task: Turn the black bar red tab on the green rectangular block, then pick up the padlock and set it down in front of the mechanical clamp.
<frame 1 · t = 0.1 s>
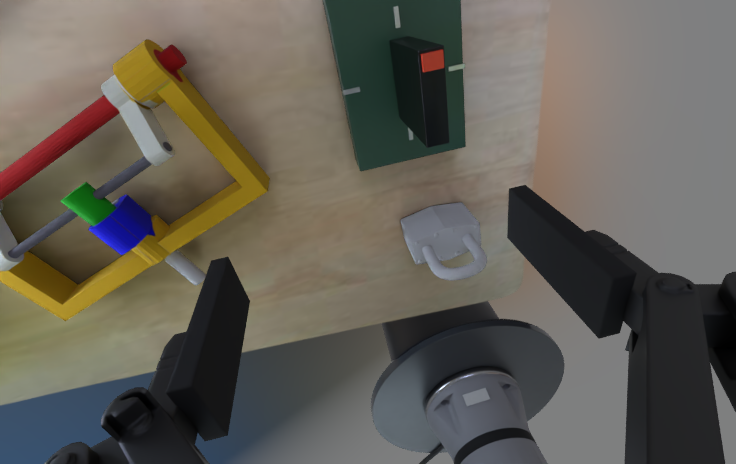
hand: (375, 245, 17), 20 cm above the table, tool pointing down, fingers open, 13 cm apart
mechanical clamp: (122, 213, 35), on the table
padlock: (431, 219, 41), on the table
green rectangular block: (395, 73, 32), on the table
black bar red tab: (418, 88, 26), point 7 cm above the table, hinge at 0.0°
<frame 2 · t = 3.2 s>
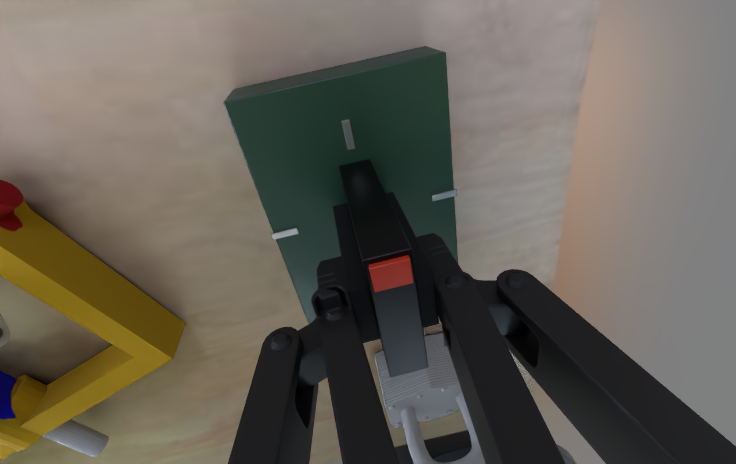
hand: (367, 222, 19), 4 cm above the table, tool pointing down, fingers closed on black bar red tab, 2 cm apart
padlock: (416, 349, 31), on the table
green rectangular block: (357, 189, 22), on the table
black bar red tab: (379, 257, 16), point 7 cm above the table, hinge at 0.0°, touching gripper
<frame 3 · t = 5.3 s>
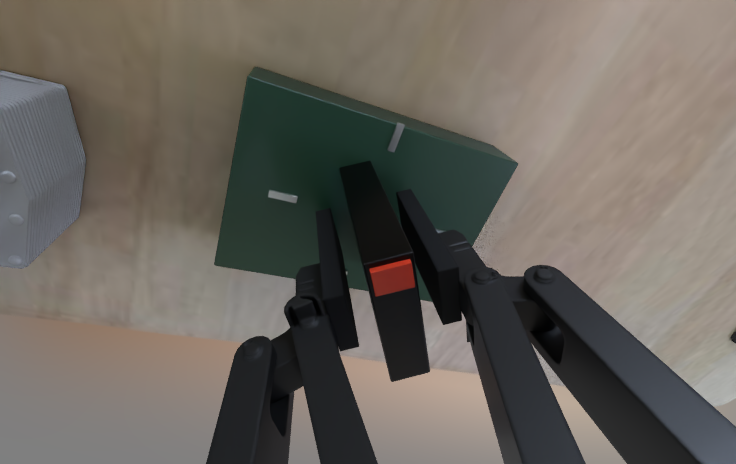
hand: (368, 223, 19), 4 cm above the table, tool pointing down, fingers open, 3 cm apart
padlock: (43, 148, 18), on the table
green rectangular block: (357, 191, 22), on the table
black bar red tab: (380, 260, 16), point 7 cm above the table, hinge at 119.8°
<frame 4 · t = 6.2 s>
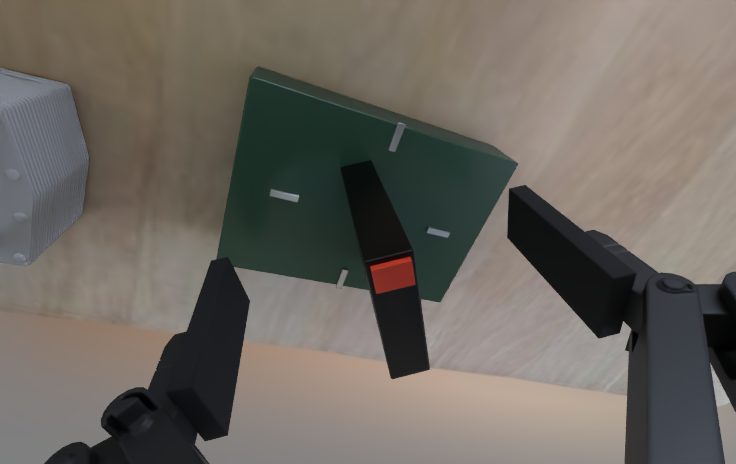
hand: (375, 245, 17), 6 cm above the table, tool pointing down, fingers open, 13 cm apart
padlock: (47, 147, 18), on the table
green rectangular block: (358, 190, 22), on the table
black bar red tab: (380, 259, 16), point 7 cm above the table, hinge at 119.8°
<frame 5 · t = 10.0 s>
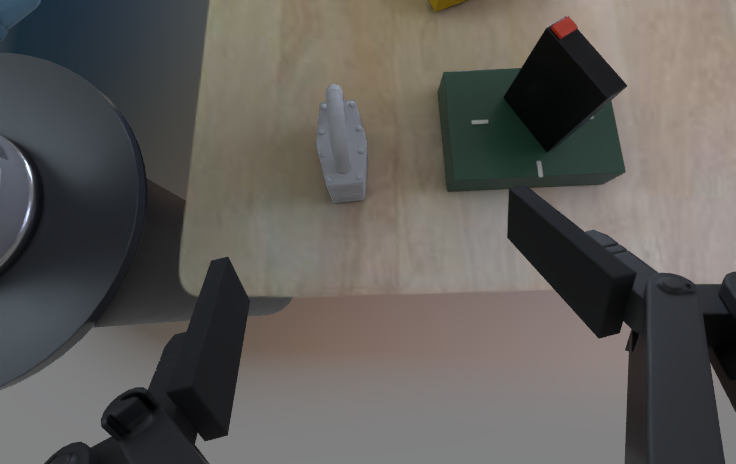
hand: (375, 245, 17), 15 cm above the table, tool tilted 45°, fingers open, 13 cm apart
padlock: (345, 166, 34), on the table
green rectangular block: (517, 136, 34), on the table
black bar red tab: (556, 91, 27), point 7 cm above the table, hinge at 119.8°
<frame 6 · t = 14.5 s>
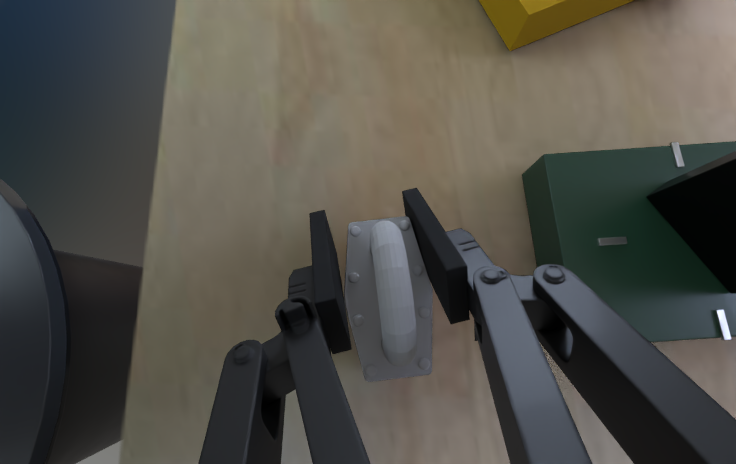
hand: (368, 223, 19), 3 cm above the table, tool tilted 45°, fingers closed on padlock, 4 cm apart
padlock: (384, 299, 21), on the table, touching gripper
green rectangular block: (653, 246, 22), on the table
when the fingers open (3 cm above the table, at t = 21.6 s): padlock stays where it is, on the table.
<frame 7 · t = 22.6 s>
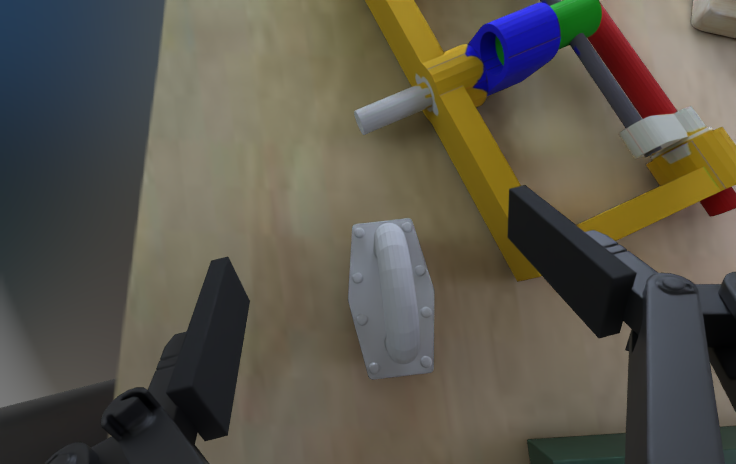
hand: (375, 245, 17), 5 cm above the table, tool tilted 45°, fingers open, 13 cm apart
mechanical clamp: (473, 68, 25), on the table
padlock: (387, 299, 22), on the table
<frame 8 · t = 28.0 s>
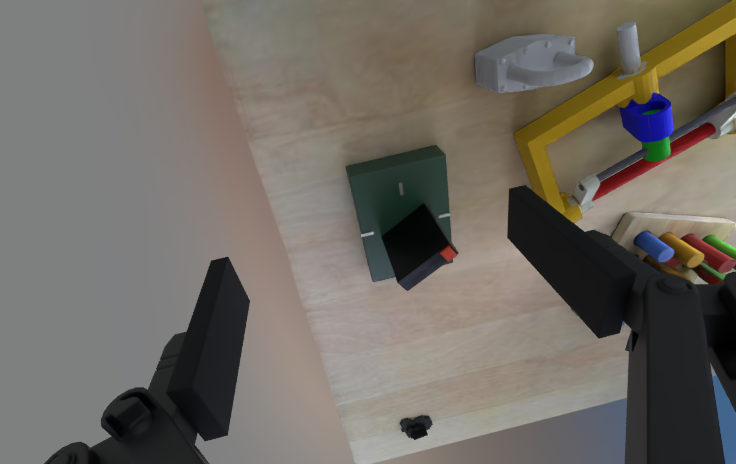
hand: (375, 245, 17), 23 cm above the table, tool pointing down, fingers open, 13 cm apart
peg board: (642, 264, 55), on the table
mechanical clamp: (636, 98, 40), on the table
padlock: (508, 58, 36), on the table
green rectangular block: (399, 211, 43), on the table
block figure: (415, 423, 67), on the table
black bar red tab: (416, 244, 37), point 7 cm above the table, hinge at 119.8°
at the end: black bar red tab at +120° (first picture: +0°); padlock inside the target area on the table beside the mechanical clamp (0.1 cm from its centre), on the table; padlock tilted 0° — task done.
